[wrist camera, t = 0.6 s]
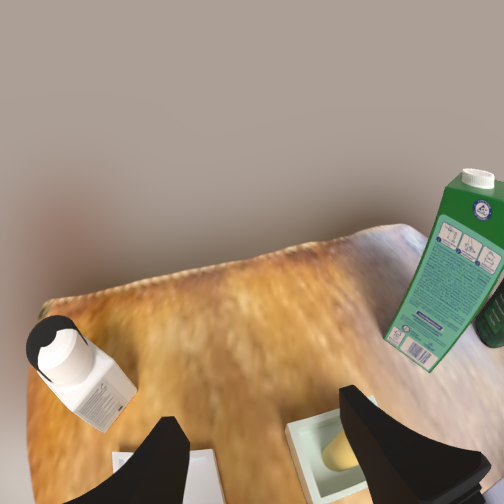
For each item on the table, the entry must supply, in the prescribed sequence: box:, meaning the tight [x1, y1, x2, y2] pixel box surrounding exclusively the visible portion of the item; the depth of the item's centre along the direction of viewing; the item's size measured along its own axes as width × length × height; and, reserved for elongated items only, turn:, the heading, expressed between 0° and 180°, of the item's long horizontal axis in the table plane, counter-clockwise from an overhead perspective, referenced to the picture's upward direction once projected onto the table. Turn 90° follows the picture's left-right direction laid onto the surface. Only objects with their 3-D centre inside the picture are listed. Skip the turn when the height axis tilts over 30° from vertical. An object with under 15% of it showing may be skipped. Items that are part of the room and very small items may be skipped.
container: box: [26, 315, 137, 433], centre depth 23 cm, size 8×8×13 cm
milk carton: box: [383, 168, 504, 373], centre depth 26 cm, size 9×9×25 cm
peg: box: [322, 429, 359, 472], centre depth 19 cm, size 4×4×9 cm
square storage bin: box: [284, 395, 378, 504], centre depth 21 cm, size 10×10×4 cm
